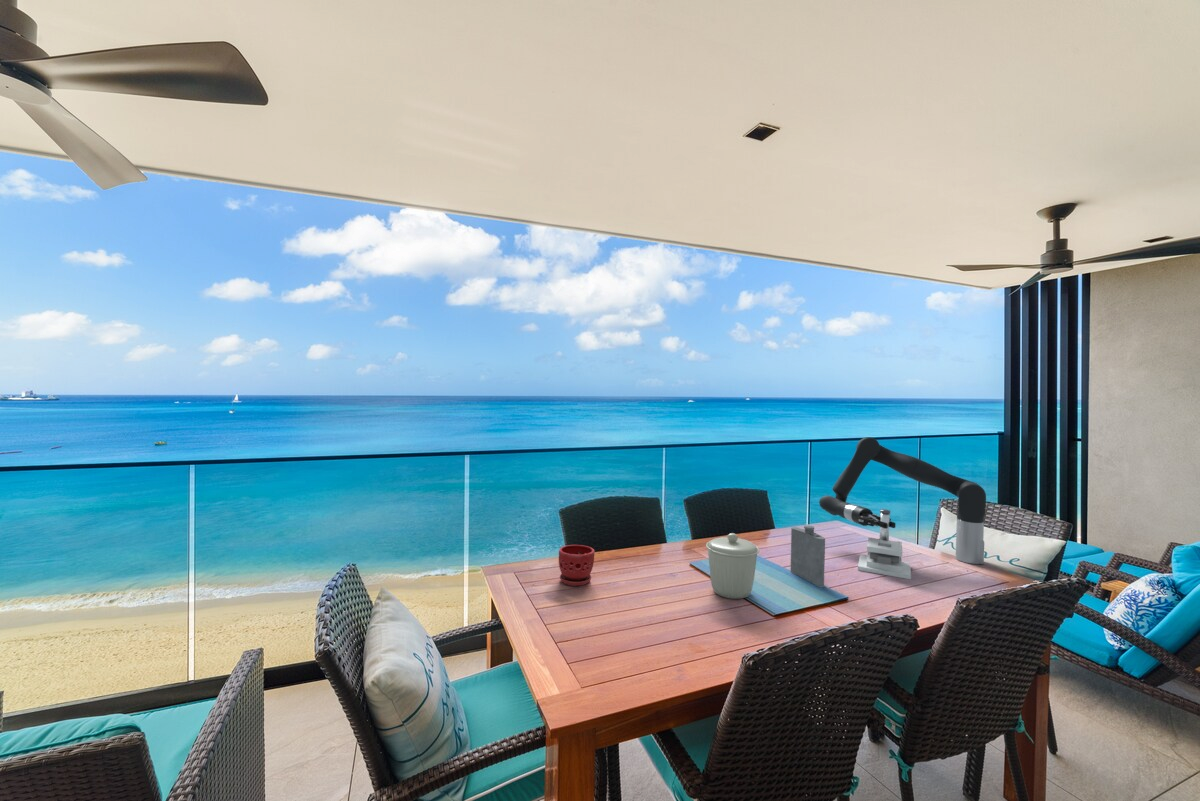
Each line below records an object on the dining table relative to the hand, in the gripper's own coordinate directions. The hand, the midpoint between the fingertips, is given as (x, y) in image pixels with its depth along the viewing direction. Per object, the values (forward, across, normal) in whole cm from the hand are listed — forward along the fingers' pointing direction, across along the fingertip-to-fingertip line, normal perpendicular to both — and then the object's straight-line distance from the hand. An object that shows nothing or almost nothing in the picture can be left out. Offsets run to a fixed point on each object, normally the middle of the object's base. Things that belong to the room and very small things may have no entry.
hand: (890, 525), depth 195 cm
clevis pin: (-3, 0, +6) cm, 7 cm away
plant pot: (-17, -124, +19) cm, 126 cm away
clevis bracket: (-3, 0, +18) cm, 18 cm away
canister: (+5, -73, +19) cm, 75 cm away
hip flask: (0, -37, +18) cm, 42 cm away
